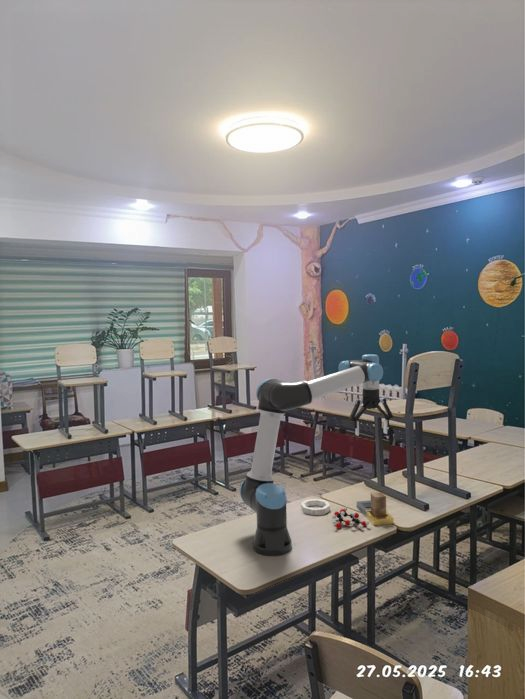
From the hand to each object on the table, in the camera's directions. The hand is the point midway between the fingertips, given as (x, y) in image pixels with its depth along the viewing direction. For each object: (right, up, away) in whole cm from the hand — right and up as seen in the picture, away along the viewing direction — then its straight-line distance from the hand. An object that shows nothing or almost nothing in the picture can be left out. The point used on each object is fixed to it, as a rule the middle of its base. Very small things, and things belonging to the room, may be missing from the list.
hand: (371, 434), depth 225 cm
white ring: (-25, -35, +2) cm, 44 cm away
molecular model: (-13, -37, -14) cm, 41 cm away
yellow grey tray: (0, -35, -5) cm, 36 cm away
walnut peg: (+1, -36, -10) cm, 37 cm away
